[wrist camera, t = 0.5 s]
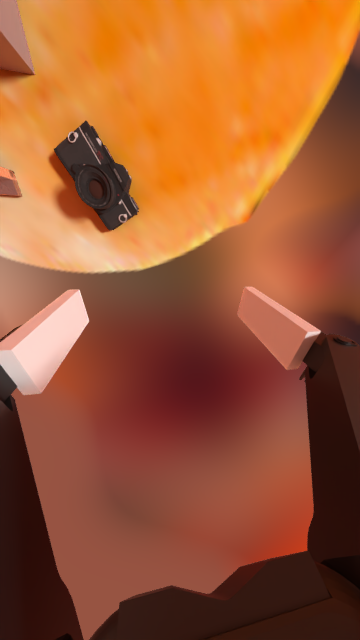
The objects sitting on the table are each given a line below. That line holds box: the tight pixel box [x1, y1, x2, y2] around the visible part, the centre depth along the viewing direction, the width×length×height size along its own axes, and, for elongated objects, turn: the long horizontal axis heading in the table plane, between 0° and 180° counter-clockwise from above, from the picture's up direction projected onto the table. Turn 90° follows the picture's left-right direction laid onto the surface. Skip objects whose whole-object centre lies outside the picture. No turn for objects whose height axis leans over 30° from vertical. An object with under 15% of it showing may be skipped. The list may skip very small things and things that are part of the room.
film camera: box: [54, 121, 139, 230], centre depth 26 cm, size 13×8×10 cm
